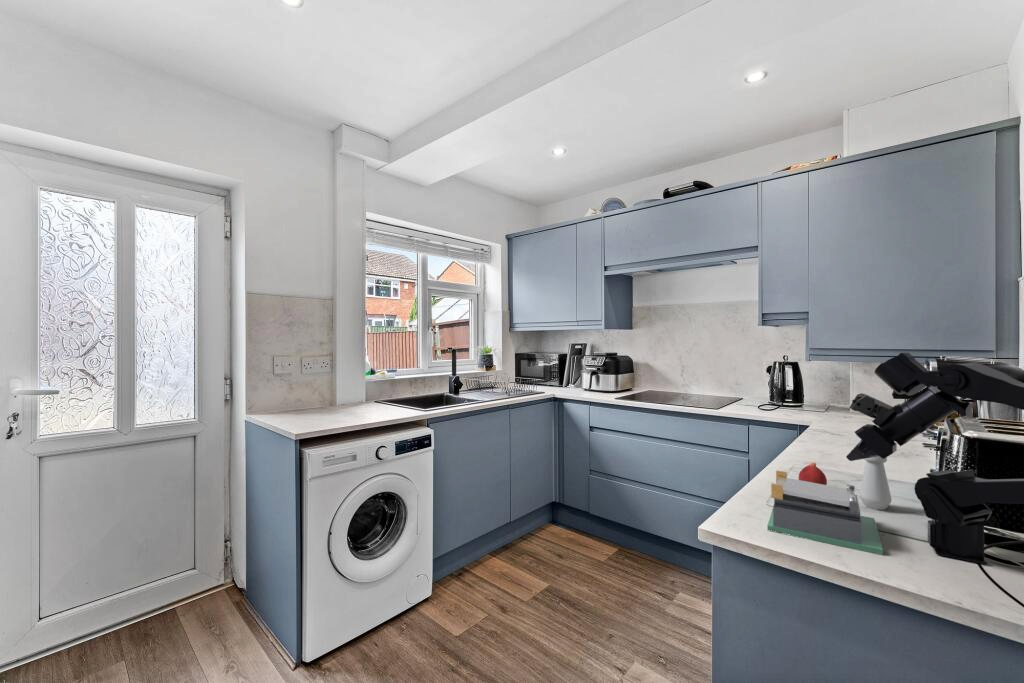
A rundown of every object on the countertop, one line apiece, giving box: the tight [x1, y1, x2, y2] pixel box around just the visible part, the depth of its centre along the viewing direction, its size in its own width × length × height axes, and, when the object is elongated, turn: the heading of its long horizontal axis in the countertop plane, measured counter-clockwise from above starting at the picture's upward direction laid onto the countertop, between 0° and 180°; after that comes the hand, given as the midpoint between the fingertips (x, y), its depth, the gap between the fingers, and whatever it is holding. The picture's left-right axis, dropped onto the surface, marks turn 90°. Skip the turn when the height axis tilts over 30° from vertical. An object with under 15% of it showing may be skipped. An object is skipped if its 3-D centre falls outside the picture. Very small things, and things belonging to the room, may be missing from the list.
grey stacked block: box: [770, 469, 861, 544], centre depth 92 cm, size 14×16×8 cm
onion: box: [797, 462, 828, 485], centre depth 110 cm, size 6×6×8 cm
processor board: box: [767, 508, 884, 556], centre depth 91 cm, size 18×17×1 cm
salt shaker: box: [858, 456, 893, 511], centre depth 101 cm, size 6×6×13 cm
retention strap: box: [775, 477, 856, 507], centre depth 91 cm, size 14×10×1 cm
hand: (848, 458), depth 92 cm, fingers closed
